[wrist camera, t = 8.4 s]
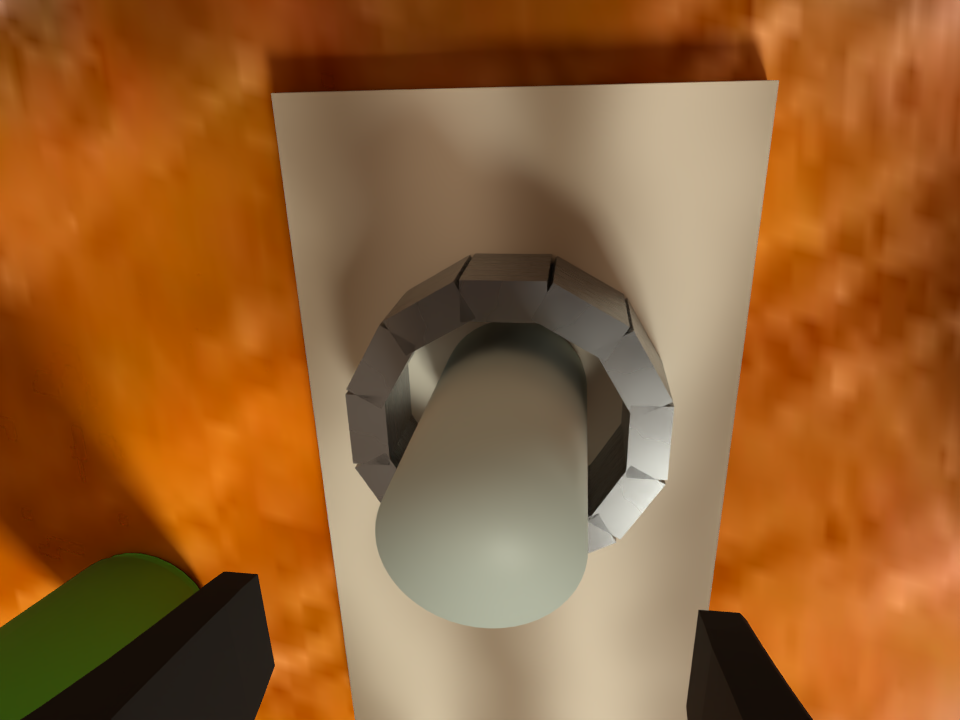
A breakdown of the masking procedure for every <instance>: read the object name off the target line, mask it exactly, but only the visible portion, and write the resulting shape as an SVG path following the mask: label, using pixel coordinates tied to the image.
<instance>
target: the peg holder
mask: <svg viewBox="0 0 960 720" xmlns="http://www.w3.org/2000/svg"><path fill="white" fill-rule="evenodd" d="M778 84H779V80H749V81H710V82H671V83H632V84H593V85H554V86H515V87H476V88H437V89H398V90H359V91H320V92H285V93H271V97H272V104H273V112H274V119H275V127H276V134H277V142H278V149H279V156H280V164H281V171H282V179H283V186H284V194H285V201H286V209H287V216H288V223H289V231H290V238H291V246H292V253H293V261H294V268H295V275H296V283H297V290H298V298H299V305H300V313H301V320H302V328H303V335H304V342H305V350H306V357H307V365H308V372H309V380H310V387H311V395H312V402H313V409H314V417H315V424H316V432H317V439H318V447H319V454H320V462H321V469H322V476H323V484H324V491H325V499H326V506H327V514H328V521H329V529H330V536H331V543H332V551H333V558H334V566H335V573H336V581H337V588H338V596H339V603H340V610H341V618H342V625H343V633H344V640H345V648H346V655H347V663H348V670H349V677H350V685H351V692H352V700H353V707H354V715H355V720H687V711H686V703H687V695H688V688H689V680H690V672H691V664H692V657H693V649H694V641H695V633H696V625H697V618H698V610H708V611H709V603H710V596H711V588H712V581H713V573H714V566H715V558H716V550H717V543H718V535H719V528H720V520H721V513H722V505H723V498H724V490H725V483H726V475H727V468H728V460H729V453H730V445H731V438H732V430H733V423H734V415H735V408H736V400H737V393H738V385H739V377H740V370H741V362H742V355H743V347H744V340H745V332H746V325H747V317H748V310H749V302H750V295H751V287H752V280H753V272H754V265H755V257H756V250H757V242H758V235H759V227H760V219H761V212H762V204H763V197H764V189H765V182H766V174H767V167H768V159H769V152H770V144H771V137H772V129H773V122H774V114H775V107H776V99H777V92H778ZM490 322H500V323H538V324H540V325H542V326H544V327H545V328H547V329H549V330H551V331H552V332H554V333H556V334H558V335H559V336H561V337H563V338H564V339H565V340H566V341H567V342H568V343H569V344H570V345H571V346H572V348H573V349H574V350H575V351H576V353H577V355H578V356H579V358H580V360H581V362H582V365H583V367H584V370H585V374H586V381H587V464H588V559H587V564H586V569H585V572H584V574H583V577H582V579H581V581H580V583H579V585H578V587H577V588H576V590H575V591H574V593H573V594H572V595H571V596H570V597H569V599H568V600H567V601H566V602H564V603H563V604H562V605H561V606H560V607H559V608H557V609H556V610H554V611H553V612H552V613H550V614H548V615H546V616H544V617H542V618H541V619H538V620H536V621H533V622H530V623H527V624H523V625H519V626H515V627H507V628H478V627H472V626H466V625H462V624H458V623H455V622H451V621H448V620H446V619H443V618H441V617H438V616H436V615H434V614H433V613H431V612H429V611H427V610H425V609H424V608H422V607H421V606H419V605H418V604H416V603H415V602H414V601H412V600H411V599H410V598H409V597H408V596H406V595H405V594H404V593H403V592H402V591H401V590H400V589H399V587H398V586H397V585H396V584H395V583H394V581H393V580H392V579H391V577H390V576H389V574H388V573H387V571H386V569H385V567H384V566H383V563H382V561H381V558H380V556H379V553H378V549H377V545H376V537H375V523H376V517H377V512H378V509H379V506H380V504H381V501H382V499H383V497H384V495H385V492H386V490H387V488H388V486H389V484H390V482H391V480H392V478H393V476H394V473H395V471H396V469H397V467H398V465H399V463H400V461H401V459H402V457H403V454H404V452H405V450H406V448H407V446H408V444H409V442H410V440H411V438H412V436H413V433H414V431H415V429H416V427H417V425H418V423H419V421H420V419H421V417H422V414H423V412H424V410H425V408H426V406H427V404H428V402H429V400H430V398H431V395H432V393H433V391H434V389H435V387H436V385H437V383H438V381H439V379H440V376H441V374H442V372H443V370H444V368H445V366H446V364H447V362H448V360H449V357H450V355H451V354H452V352H453V350H454V349H455V347H456V346H457V345H458V343H459V342H460V341H461V340H462V339H463V338H464V337H465V336H466V335H468V334H469V333H470V332H472V331H473V330H475V329H477V328H478V327H480V326H482V325H485V324H488V323H490Z"/></svg>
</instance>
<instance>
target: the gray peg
mask: <svg viewBox="0 0 960 720" xmlns="http://www.w3.org/2000/svg"><path fill="white" fill-rule="evenodd" d="M375 537H376V545H377V549H378V553H379V556H380V558H381V561H382V563H383V566H384V567H385V569H386V571H387V573H388V574H389V576H390V577H391V579H392V580H393V581H394V583H395V584H396V585H397V586H398V587H399V589H400V590H401V591H402V592H403V593H404V594H405V595H406V596H408V597H409V598H410V599H411V600H412V601H414V602H415V603H416V604H418V605H419V606H421V607H422V608H424V609H425V610H427V611H429V612H431V613H433V614H434V615H436V616H438V617H441V618H443V619H446V620H448V621H451V622H455V623H458V624H462V625H466V626H472V627H478V628H507V627H515V626H519V625H523V624H527V623H530V622H533V621H536V620H538V619H541V618H542V617H544V616H546V615H548V614H550V613H552V612H553V611H554V610H556V609H557V608H559V607H560V606H561V605H562V604H563V603H564V602H566V601H567V600H568V599H569V597H570V596H571V595H572V594H573V593H574V591H575V590H576V588H577V587H578V585H579V583H580V581H581V579H582V577H583V574H584V572H585V569H586V564H587V559H588V464H587V381H586V374H585V370H584V367H583V365H582V362H581V360H580V358H579V356H578V355H577V353H576V351H575V350H574V349H573V348H572V346H571V345H570V344H569V343H568V342H567V341H566V340H565V339H564V338H563V337H561V336H559V335H558V334H556V333H554V332H552V331H551V330H549V329H547V328H545V327H544V326H542V325H540V324H538V323H500V322H490V323H488V324H485V325H482V326H480V327H478V328H477V329H475V330H473V331H472V332H470V333H469V334H468V335H466V336H465V337H464V338H463V339H462V340H461V341H460V342H459V343H458V345H457V346H456V347H455V349H454V350H453V352H452V354H451V355H450V357H449V360H448V362H447V364H446V366H445V368H444V370H443V372H442V374H441V376H440V379H439V381H438V383H437V385H436V387H435V389H434V391H433V393H432V395H431V398H430V400H429V402H428V404H427V406H426V408H425V410H424V412H423V414H422V417H421V419H420V421H419V423H418V425H417V427H416V429H415V431H414V433H413V436H412V438H411V440H410V442H409V444H408V446H407V448H406V450H405V452H404V454H403V457H402V459H401V461H400V463H399V465H398V467H397V469H396V471H395V473H394V476H393V478H392V480H391V482H390V484H389V486H388V488H387V490H386V492H385V495H384V497H383V499H382V501H381V504H380V506H379V509H378V512H377V517H376V523H375Z"/></svg>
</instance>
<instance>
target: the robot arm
mask: <svg viewBox="0 0 960 720" xmlns="http://www.w3.org/2000/svg"><path fill="white" fill-rule="evenodd" d="M274 666H275V664H274V659H273V654H272V648H271V643H270V638H269V632H268V627H267V621H266V616H265V611H264V605H263V600H262V595H261V589H260V584H259V579H258V574H248V573H235V572H223V573H221V574H220V575H219V576H217V577H216V578H214V579H213V580H212V581H210V582H209V583H208V584H206V585H205V586H204V587H202V588H201V589H200V590H198V591H197V592H196V593H194V594H193V595H192V596H190V597H189V598H188V599H186V600H185V601H184V602H183V603H181V604H180V605H179V606H177V607H176V608H175V609H173V610H172V611H171V612H170V613H168V614H167V615H166V616H164V617H163V618H162V619H160V620H159V621H158V622H157V623H155V624H154V625H153V626H151V627H150V628H149V629H147V630H146V631H145V632H143V633H142V634H141V635H139V636H138V637H137V638H135V639H134V640H133V641H131V642H130V643H129V644H127V645H126V646H125V647H123V648H122V649H121V650H119V651H118V652H117V653H115V654H114V655H113V656H111V657H110V658H109V659H107V660H106V661H105V662H103V663H102V664H100V665H99V666H97V667H96V668H95V669H93V670H92V671H90V672H89V673H87V674H86V675H85V676H83V677H82V678H80V679H79V680H77V681H76V682H75V683H73V684H72V685H70V686H69V687H67V688H66V689H65V690H63V691H62V692H60V693H59V694H57V695H56V696H55V697H53V698H52V699H50V700H49V701H47V702H46V703H45V704H43V705H42V706H40V707H39V708H37V709H36V710H34V711H33V712H31V713H30V714H28V715H27V716H25V717H24V718H22V719H20V720H254V719H255V717H256V714H257V712H258V709H259V707H260V704H261V702H262V699H263V696H264V694H265V691H266V688H267V685H268V683H269V680H270V677H271V674H272V672H273V669H274ZM686 711H687V720H813V719H812V718H811V716H810V715H809V714H808V712H807V711H806V709H805V708H804V707H803V705H802V704H801V702H800V701H799V700H798V698H797V697H796V695H795V694H794V692H793V691H792V690H791V688H790V687H789V685H788V684H787V682H786V681H785V679H784V678H783V676H782V675H781V673H780V672H779V670H778V669H777V667H776V666H775V664H774V663H773V661H772V660H771V658H770V657H769V655H768V654H767V652H766V651H765V649H764V648H763V646H762V644H761V643H760V641H759V640H758V638H757V636H756V635H755V633H754V632H753V630H752V628H751V627H750V625H749V624H748V622H747V620H746V619H745V618H744V617H743V616H742V615H741V614H740V613H733V612H721V611H708V610H698V618H697V625H696V633H695V641H694V649H693V657H692V664H691V672H690V680H689V688H688V695H687V703H686Z"/></svg>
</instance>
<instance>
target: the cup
mask: <svg viewBox="0 0 960 720" xmlns="http://www.w3.org/2000/svg"><path fill="white" fill-rule="evenodd" d="M198 590H200V589H199V588H198V586H197V585H196V584H195V583H194V582H193V581H192V580H191V579H190V578H189V577H188V576H187V575H186V574H185V573H184V572H183V571H181V570H180V569H178V568H177V567H175V566H174V565H172V564H171V563H168V562H166V561H164V560H162V559H159V558H157V557H154V556H150V555H145V554H141V553H124V554H120V555H115V556H112V557H111V558H106V559H102V560H100V561H98V562H96V563H94V564H93V565H91V566H89V567H88V568H86V569H85V570H83V571H82V572H80V573H79V574H78V575H76V576H75V577H73V578H72V579H70V580H69V581H67V582H66V583H64V584H63V585H62V586H60V587H59V588H57V589H56V590H54V591H53V592H51V593H50V594H48V595H47V596H46V597H44V598H43V599H41V600H40V601H38V602H37V603H35V604H34V605H32V606H31V607H30V608H28V609H27V610H25V611H24V612H22V613H21V614H19V615H18V616H16V617H15V618H14V619H12V620H11V621H9V622H8V623H6V624H5V625H3V626H2V627H0V720H20V719H22V718H24V717H25V716H27V715H28V714H30V713H31V712H33V711H34V710H36V709H37V708H39V707H40V706H42V705H43V704H45V703H46V702H47V701H49V700H50V699H52V698H53V697H55V696H56V695H57V694H59V693H60V692H62V691H63V690H65V689H66V688H67V687H69V686H70V685H72V684H73V683H75V682H76V681H77V680H79V679H80V678H82V677H83V676H85V675H86V674H87V673H89V672H90V671H92V670H93V669H95V668H96V667H97V666H99V665H100V664H102V663H103V662H105V661H106V660H107V659H109V658H110V657H111V656H113V655H114V654H115V653H117V652H118V651H119V650H121V649H122V648H123V647H125V646H126V645H127V644H129V643H130V642H131V641H133V640H134V639H135V638H137V637H138V636H139V635H141V634H142V633H143V632H145V631H146V630H147V629H149V628H150V627H151V626H153V625H154V624H155V623H157V622H158V621H159V620H160V619H162V618H163V617H164V616H166V615H167V614H168V613H170V612H171V611H172V610H173V609H175V608H176V607H177V606H179V605H180V604H181V603H183V602H184V601H185V600H186V599H188V598H189V597H190V596H192V595H193V594H194V593H196V592H197V591H198Z"/></svg>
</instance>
